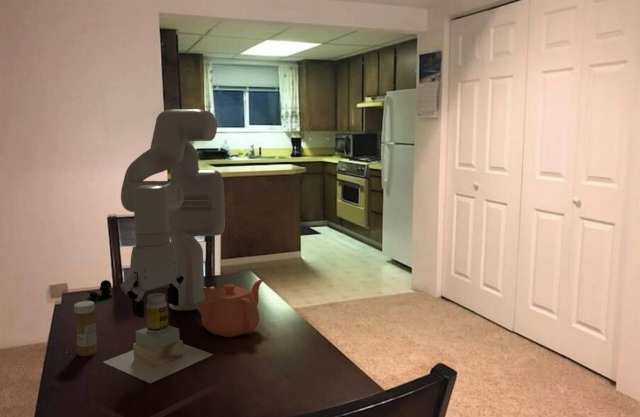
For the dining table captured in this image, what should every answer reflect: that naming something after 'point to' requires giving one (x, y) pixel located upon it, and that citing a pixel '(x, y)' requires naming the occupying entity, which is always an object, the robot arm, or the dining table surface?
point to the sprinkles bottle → (85, 328)
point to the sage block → (157, 338)
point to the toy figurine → (105, 293)
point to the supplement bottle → (157, 313)
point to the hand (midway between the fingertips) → (156, 310)
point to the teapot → (230, 310)
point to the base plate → (152, 374)
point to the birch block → (158, 354)
